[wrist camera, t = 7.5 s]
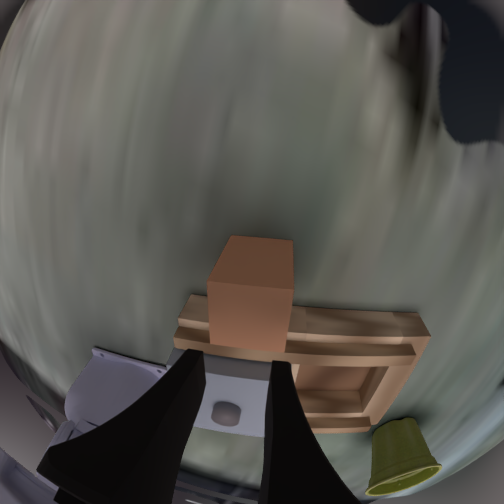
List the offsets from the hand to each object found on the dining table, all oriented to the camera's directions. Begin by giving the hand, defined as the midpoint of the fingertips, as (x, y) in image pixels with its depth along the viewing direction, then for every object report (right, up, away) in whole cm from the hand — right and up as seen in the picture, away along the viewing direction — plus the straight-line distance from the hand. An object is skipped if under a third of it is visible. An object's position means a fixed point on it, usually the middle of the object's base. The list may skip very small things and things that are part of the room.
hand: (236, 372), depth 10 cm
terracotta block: (+1, +4, +9) cm, 10 cm away
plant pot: (+19, -18, +16) cm, 31 cm away
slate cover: (-1, -5, +10) cm, 11 cm away
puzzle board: (+5, -5, +12) cm, 14 cm away
